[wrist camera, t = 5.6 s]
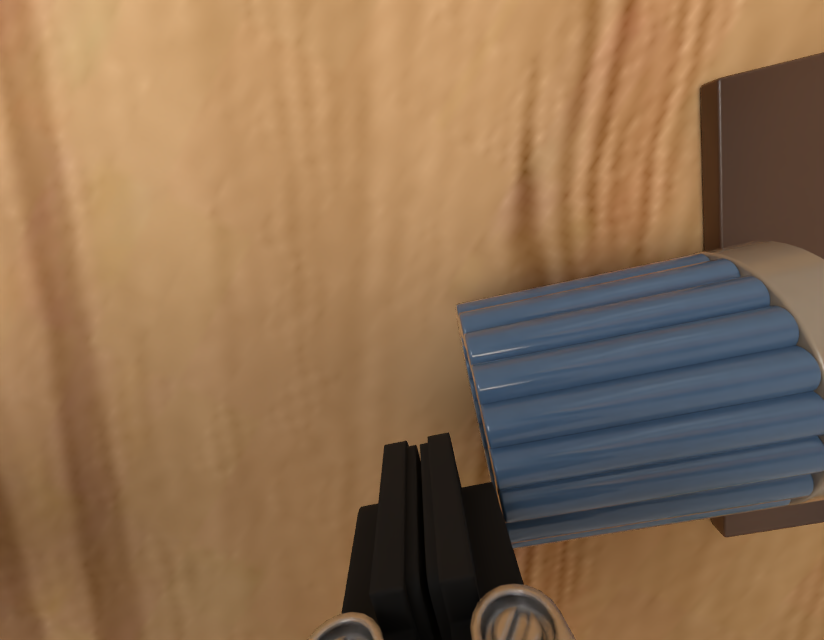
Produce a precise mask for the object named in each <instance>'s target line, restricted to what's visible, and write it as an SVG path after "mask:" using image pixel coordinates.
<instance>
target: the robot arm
mask: <svg viewBox="0 0 824 640" xmlns="http://www.w3.org/2000/svg"><path fill="white" fill-rule="evenodd" d="M420 454H421V461H420V457H419V453H418V449H417V446H416V445H413V446H409V445H408V442H407V441H402V442H397V443H392V444H387V445H385V446H384V454H383V464H382V473H381V483H380V493H379V503H378V504H373V505H368V506H363V507H361V508H360V509H359V512H358V517H357V523H356V529H355V535H354V541H353V547H352V553H351V559H350V566H349V572H348V578H347V584H346V590H345V596H344V602H343V608H342V614H339V615H337V616H335V617H333V618H331V619H329V620H327V621H326V622H324V623H323V624H322V625H321V626H319V627H318V628H317V629H316V630H315V631H314V632H313V633H312V635H311V636H310V637H309V638H308V640H575V638H574V636H573V634H572V632H571V630H570V628H569V627H568V625H567V623H566V621H565V619H564V617H563V615H562V614H561V612H560V610H559V609H558V608H557V606H556V605H555V604H554V602H553V601H552V600H551V599H550V598H549V597H547V596H546V595H545V594H544V593H542V592H541V591H540V590H537V589H535V588H532V587H530V586H527V585H524V584H523V581H522V577H521V574H520V571H519V567H518V564H517V561H516V557H515V554H514V551H513V547H512V544H511V541H510V537H509V534H508V531H507V528H506V524H505V521H504V518H503V514H502V511H501V508H500V504H499V501H498V498H497V494H496V491H495V488H494V485H493V482H489V483H484V484H479V485H474V486H468V487H463V488H461V483H460V479H459V474H458V470H457V465H456V461H455V456H454V452H453V447H452V443H451V438H450V434H449V432H448V433H443V434H438V435H433V436H428V443H424V444H420Z"/></svg>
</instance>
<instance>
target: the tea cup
mask: <svg viewBox="0 0 824 640" xmlns="http://www.w3.org/2000/svg"><path fill="white" fill-rule="evenodd" d="M455 310H456V316H457V324H458V329H459V335H460V341H461V345H462V350H463V356H464V361H465V366H466V371H467V375H468V381H469V386H470V391H471V395H472V399H473V405H474V410H475V414H476V419H477V423H478V428H479V433H480V438H481V442H482V447H483V451H484V455H485V460H486V465H487V469H488V473H489V477H490V481H491V482H493V485H494V488H495V491H496V494H497V498H498V501H499V504H500V508H501V511H502V514H503V518H504V521H505V524H506V528H507V531H508V534H509V537H510V541H511V544H512V547H513V549H518V548H524V547H531V546H537V545H543V544H550V543H556V542H562V541H569V540H575V539H581V538H588V537H594V536H600V535H606V534H613V533H619V532H625V531H632V530H638V529H644V528H651V527H657V526H663V525H670V524H676V523H682V522H689V521H695V520H701V519H708V518H714V517H720V516H727V515H733V514H739V513H746V512H752V511H758V510H765V509H771V508H777V507H784V506H787V505H797V504H803V503H809V502H816V501H822V500H824V259H823V258H822V257H820V256H818V255H816V254H814V253H812V252H810V251H808V250H805V249H803V248H800V247H797V246H793V245H790V244H786V243H780V242H774V241H753V242H747V243H742V244H737V245H732V246H728V247H723V248H718V249H713V250H708V251H704V252H699V253H694V254H692V255H687V256H683V257H678V258H673V259H668V260H664V261H659V262H654V263H649V264H645V265H640V266H635V267H630V268H626V269H621V270H616V271H611V272H607V273H602V274H597V275H592V276H588V277H583V278H578V279H573V280H569V281H564V282H559V283H554V284H549V285H545V286H540V287H535V288H530V289H526V290H521V291H516V292H511V293H507V294H502V295H497V296H492V297H488V298H483V299H478V300H473V301H469V302H464V303H459V304H457V305H456V309H455Z"/></svg>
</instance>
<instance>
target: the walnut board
mask: <svg viewBox="0 0 824 640" xmlns="http://www.w3.org/2000/svg"><path fill="white" fill-rule="evenodd" d="M701 126H702V165H703V205H704V245H705V251H708V250H713V249H718V248H723V247H728V246H732V245H737V244H742V243H747V242H753V241H774V242H780V243H786V244H790V245H793V246H797V247H800V248H803V249H805V250H808V251H810V252H812V253H814V254H816V255H818V256H820V257H822V258H823V259H824V53H820V54H815V55H811V56H807V57H803V58H799V59H795V60H791V61H787V62H783V63H779V64H775V65H771V66H767V67H763V68H758V69H754V70H750V71H746V72H742V73H738V74H734V75H730V76H726V77H722V78H718V79H716V80H713V81H711V82H708V83H706V84H704V85H702V86H701ZM711 522H712V524H713V525H714V526H715V527H716V528H717V529H718V531H719V532H720V533H721V534H722V535H723V536H724V537H732V536H739V535H745V534H751V533H758V532H764V531H770V530H777V529H783V528H789V527H796V526H802V525H808V524H815V523H821V522H824V500H822V501H816V502H809V503H803V504H797V505H787V506H784V507H777V508H771V509H765V510H758V511H752V512H746V513H739V514H733V515H727V516H720V517H714V518H711Z"/></svg>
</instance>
